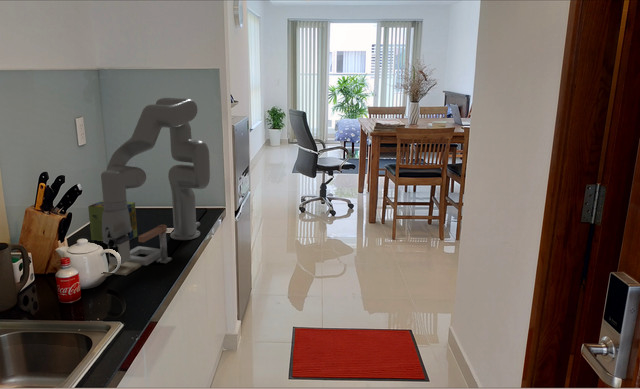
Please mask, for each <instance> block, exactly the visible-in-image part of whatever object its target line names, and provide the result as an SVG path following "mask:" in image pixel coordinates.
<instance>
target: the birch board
mask: <svg viewBox="0 0 640 389" xmlns="http://www.w3.org/2000/svg"><path fill="white" fill-rule="evenodd" d="M108 264H109V272H111V271H113V270H114V269H115V267H116V265H117V264H114V263H110V262H109V263H108ZM141 267H142V265H141V263H134V262H125V263H123V264H122V265H121V267H120V268H119V269H118V270H117V271H116V272H115V273H114V275H118V276H120V275H121V276H127V275H129V274H131V273H132V272H134V271H136V270H137V269H139V268H141Z"/></svg>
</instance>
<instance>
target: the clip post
mask: <svg viewBox="0 0 640 389" xmlns="http://www.w3.org/2000/svg"><path fill="white" fill-rule="evenodd" d="M158 236H159V238H158V239H159V249H160V254H161V257H160V258H158V259H157V260H155V262H156V263H159V262H160V264H167V263H169V262H171V261H172V260H173V257H170V256H169V257H168V244H167V231H166V232H162V233H160V234H159V235H158Z"/></svg>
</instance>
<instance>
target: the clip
mask: <svg viewBox="0 0 640 389" xmlns="http://www.w3.org/2000/svg"><path fill="white" fill-rule="evenodd" d="M162 232H166V233H167V232H168V226H167V224H158V225H157V226H156V227H154V228H152V229H149V230H148V231H146V232H144V233H142V234H140V235H137V237H138V242H139V243H146V242H147V241H149V240H152V238H155V237H157V236H159V234H160V233H162Z"/></svg>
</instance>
